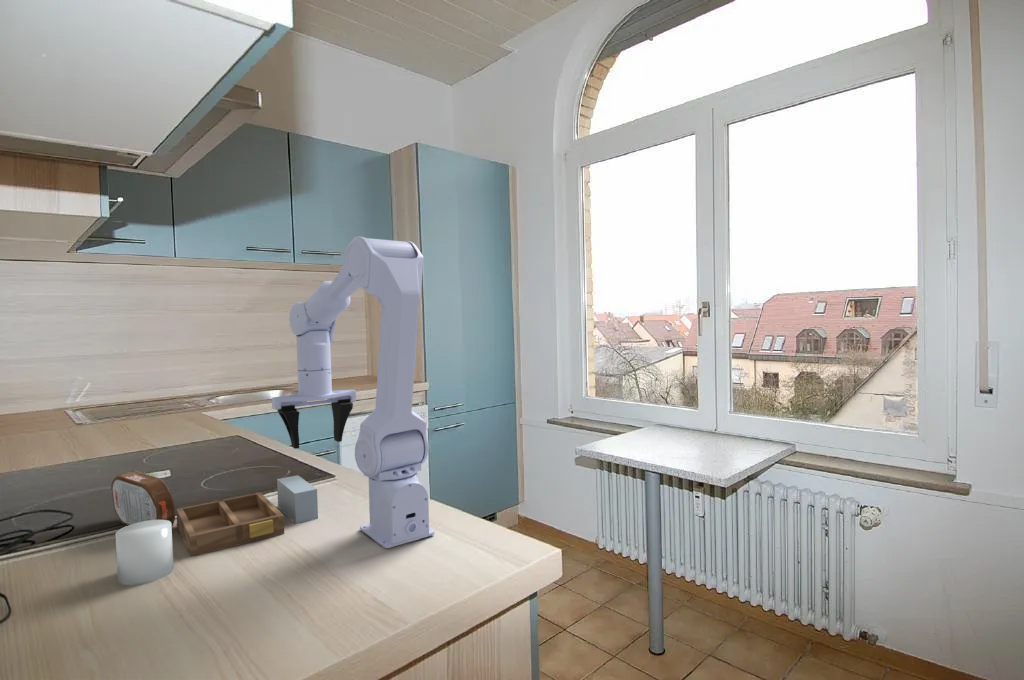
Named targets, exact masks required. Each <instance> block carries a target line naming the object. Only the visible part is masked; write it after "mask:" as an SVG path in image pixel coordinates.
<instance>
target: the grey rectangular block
mask: <svg viewBox="0 0 1024 680" xmlns="http://www.w3.org/2000/svg"><path fill="white" fill-rule="evenodd" d="M276 482H277V483H276V486H277V487H276V488H277V489H276V490H277V492H276V493H277V507H278V509H280V510H281V511H282V512H283V514H285V515H286V516H287V517H288V518H289V519H290V518H291V519H292V520H293V521H292V520H291V519H290V520H291V521H292V522H293V523H294V524H295V525H296V524H300V523H305V522H308V521H312V520H317V519H319V509H318V508H319V507H318V505H319V504H318V503H319V502H318V489H317V487H315V486H313V485H312V484H311V483H309V482H308V481H307V480H305V479H304V478H303V477H301V476H300V475H292V476H286V477H281V478H277V479H276Z"/></svg>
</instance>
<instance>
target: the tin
mask: <svg viewBox="0 0 1024 680" xmlns="http://www.w3.org/2000/svg"><path fill="white" fill-rule="evenodd" d="M110 489H111V495H112V496H111V497H112V501H113V509H114V512H115V514H116V516H117V517H118V519H119V521H120V522H121V523H122V522H123V523H122V524H124V523H125V524H128V525H131V524H134V523H138V522H143V521H149V520H168V521H170V522H171V526H172V527H173V526H174V524H175V519H176V507H175V506H176V505H175V501H174V498H173V495H172V492H171V490H170V488H169V486H168V485H167V484H166V482H165V481H164V480H163V479H162V478H159V477H156V476H154V475H150V474H146V473H144V472H140V471H138V470H131V471H130V472H126V473H122V474H120V475H117V476H115V477H114V479H113V480H112V482H111V486H110ZM125 524H124V525H125Z"/></svg>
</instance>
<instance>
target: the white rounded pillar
mask: <svg viewBox="0 0 1024 680" xmlns="http://www.w3.org/2000/svg"><path fill="white" fill-rule="evenodd" d="M172 527H173V526H171V522H170V521H168V520H149V521H143V522H138V523H134V524H131V525H128V526H127V525H125V526H124V527H123V526H122V527H121V528H120V529H118V530H117V531H116V532H115V549H116V550H115V551H116V567H117V569H116V571H117V582H118V583H119V584H120V585H123V586H139V585H144V584H149V583H152V582H156V581H158V580H161V579H163V578H165V577H167V576H168V575H170V574H171V573H172V572H173V571H174V567H175V566H174V551H173V548H174V547H173V533H172V532H173V531H172V529H173V528H172Z"/></svg>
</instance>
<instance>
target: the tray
mask: <svg viewBox="0 0 1024 680" xmlns="http://www.w3.org/2000/svg"><path fill="white" fill-rule="evenodd" d="M175 515H176V527H177V529H178V532H179V533H180V536H181V538H182V539H183V543H184V545H185V547H186V549H187V551H188V553H189V556H190V557H195V556H198V555H203V554H206V553H210V552H215V551H219V550H224V549H228V548H231V547H234V546H235V547H236V546H239V545H244V544H247V543H252V542H255V541H260V540H264V539H267V538H271V537H276V536H280V535H284V534H285V515H284V513H282V512H281V511H280V510H279V508H277V507H276V506H275V505H274V504H273V503H272V502H271V501H270V500H269V499H268V498H267V497H266V496H265V495H264V494H263V493H262V492H261V491H259V492H254V493H250V494H245V495H239V496H235V497H229V498H224V499H220V500H219V499H218V500H214V501H208V502H203V503H200V504H194V505H189V506H188V505H187V506H184V507H179V508H175Z"/></svg>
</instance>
